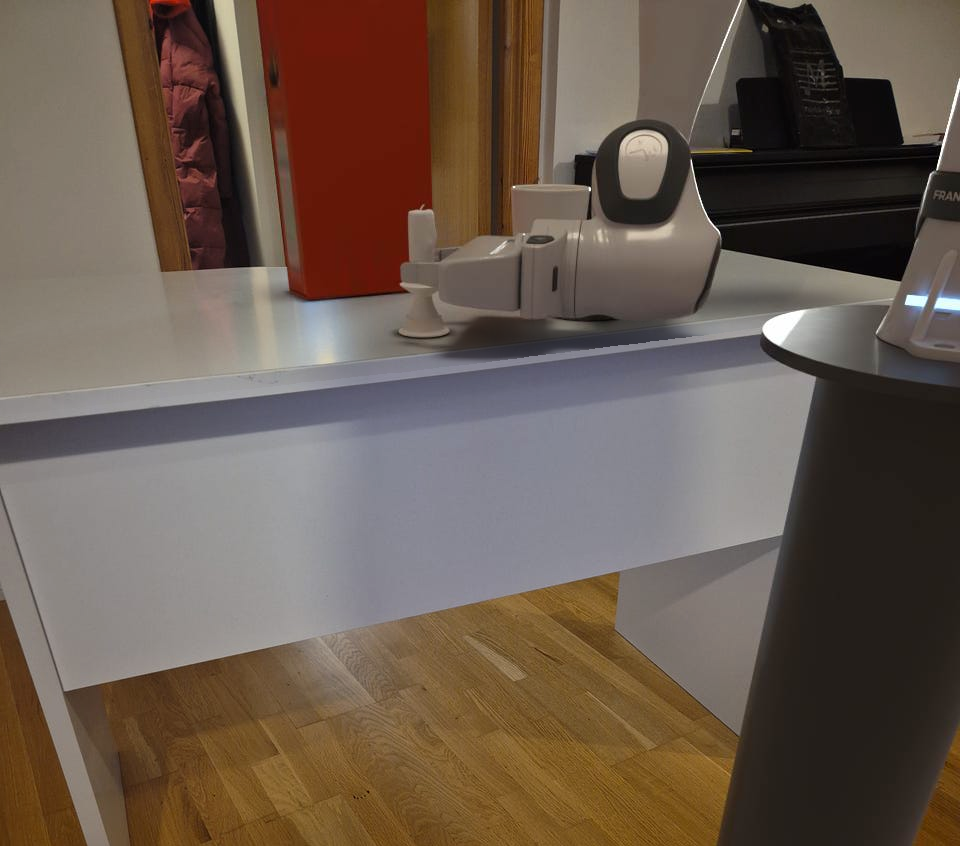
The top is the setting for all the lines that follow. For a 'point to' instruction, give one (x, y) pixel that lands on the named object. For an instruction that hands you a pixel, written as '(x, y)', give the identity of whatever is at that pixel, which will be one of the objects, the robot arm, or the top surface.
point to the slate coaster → (589, 318)
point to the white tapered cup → (547, 204)
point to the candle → (423, 310)
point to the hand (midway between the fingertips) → (413, 264)
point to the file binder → (347, 137)
